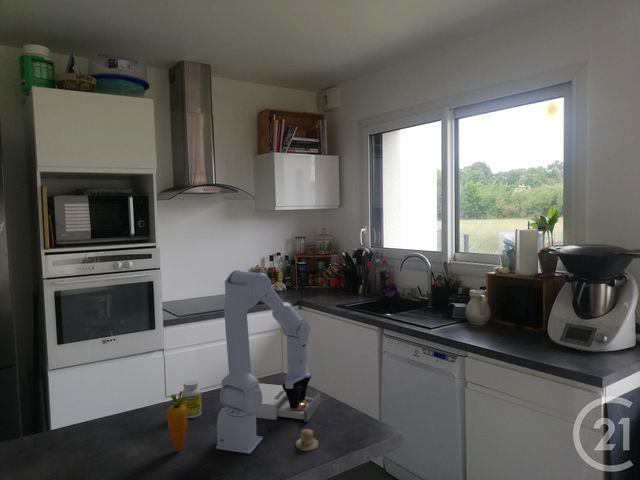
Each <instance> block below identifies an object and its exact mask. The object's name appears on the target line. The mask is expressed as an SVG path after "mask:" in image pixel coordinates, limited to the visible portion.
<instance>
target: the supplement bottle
mask: <svg viewBox="0 0 640 480" xmlns="http://www.w3.org/2000/svg"><path fill="white" fill-rule="evenodd" d="M198 386H199V381H197V380H195V379H193V380H191V379H190V380H186V381H184V382H183V388H184V389H183V390H182V395H181V398H182V397H184V396H186V397H187V398H185V399H184V400H183V401H182V403H181V405H184V406H186V408H187V411H188V419H193V418H197V417H199V416H201V415H202V412H203V411H202V394H201V393H202V392H201V389H200V387H198Z"/></svg>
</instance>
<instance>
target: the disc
mask: <svg viewBox="0 0 640 480" xmlns="http://www.w3.org/2000/svg"><path fill="white" fill-rule="evenodd" d="M306 408H307V402H306V401H305V400H299V405H298V408H297V409H294V408H290V410H292V411H303V410H305V409H306Z"/></svg>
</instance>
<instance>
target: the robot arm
mask: <svg viewBox="0 0 640 480" xmlns="http://www.w3.org/2000/svg"><path fill="white" fill-rule="evenodd" d="M224 291H225V298H224V303H223V315H224V325H225V327H224V328H225V339H226V340H225V341H226V352H227V365H228V373H227V375H226V376H224V378H223V379H222V380H221V389H220V395H219V400H220V402H221V404H222V405H223V406H224V407H223V408H221V409H220V410H219V413H218V415H217V418H216V419H217V420H216V439H217V440H216V443H217V445H216V446H215V449H217V450H223V451H229V452H237V453H243V454H251V453H253V451H254V450H255V449H256V447H257V446H258V445H259V444H260V443H261V442H262V441H263V439H264V438H263V436H259V435H257V417H256V411H258V409H259V408H260V406H261V403H262V392H261V390H260V388H259V383H260V380H259V379H257V377H256V376H255V375H254V374H253V373H252V365H251V364H252V362H251V352H250V350H251V349H250V339H249V324H248V321H249V320H248V311H250V309H252V308H253V307H255V306H256V305H257V304H258V303H259V302H260V301H262V302H263V303H264V304H265V305H266V306H267V307H269V309H270V310H271V314H272V317H273V319H274V320H276V322H277V323H278V324H279V325H280V327H281V332H282V334H283V335H285V336H286V361H287V362H286V363H287V364H286V380H285V382H284V383H283V384H282V386H283V389H284V391H285V393H286V395H287V397H288V401H289V405H290V408H294V409H297V408H298V405H299V399H300V400H304V399H305V397H307V390H308V387H309V382H310V381H311V378H312V375H311V372H309V364H308V362H307V361H308V357H307V356H308V355H307V349H308V348H307V344H308V342H309V335H310V334H311V333H310V332H311V326H310V325H311V324H310V323H309V321H308V320H307V319H306V318H302V317H301V316H300V313H298V312H297V311H296V310H295V309H294V307H293V304H292V303H291V302H289V301H288V302H287V301H283V300H282V299H281V298H280V297H279V295H278V293H277V292H276V291H275V289H274V288H273V286H272V279H270V278H269V276H268V275H267V274H266V273H264V272H253V271H241V270H237V269H236V270H233V271H232V272H231V273H230V274H229V275H228V276H227V278H226V279H225V281H224Z"/></svg>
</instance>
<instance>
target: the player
mask: <svg viewBox="0 0 640 480" xmlns="http://www.w3.org/2000/svg"><path fill="white" fill-rule="evenodd" d="M259 388H260V390H261V392H262V403H261V406H260V408H259V409H258V411H256V419H266V420H275V421H276V420H277V419H278V416H277V406H278V404H279V403H280V402H281V401H282V400H283V399H284V398H285V397H286V396H287V395H286V393H285V391H284V389H283V384H282V385H280V384H279V385H278V384H270V383H269V384H268V383H260V382H259Z"/></svg>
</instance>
